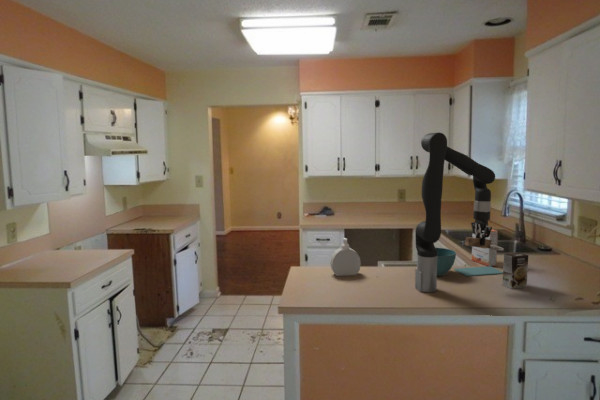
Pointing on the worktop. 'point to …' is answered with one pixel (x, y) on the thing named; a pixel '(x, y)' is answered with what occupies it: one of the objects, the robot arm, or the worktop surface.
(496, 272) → the mat
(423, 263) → the robot arm
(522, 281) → the coffee box
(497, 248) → the tall cardboard-brown block
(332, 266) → the soap bottle
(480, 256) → the cracker box
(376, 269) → the worktop surface
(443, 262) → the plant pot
